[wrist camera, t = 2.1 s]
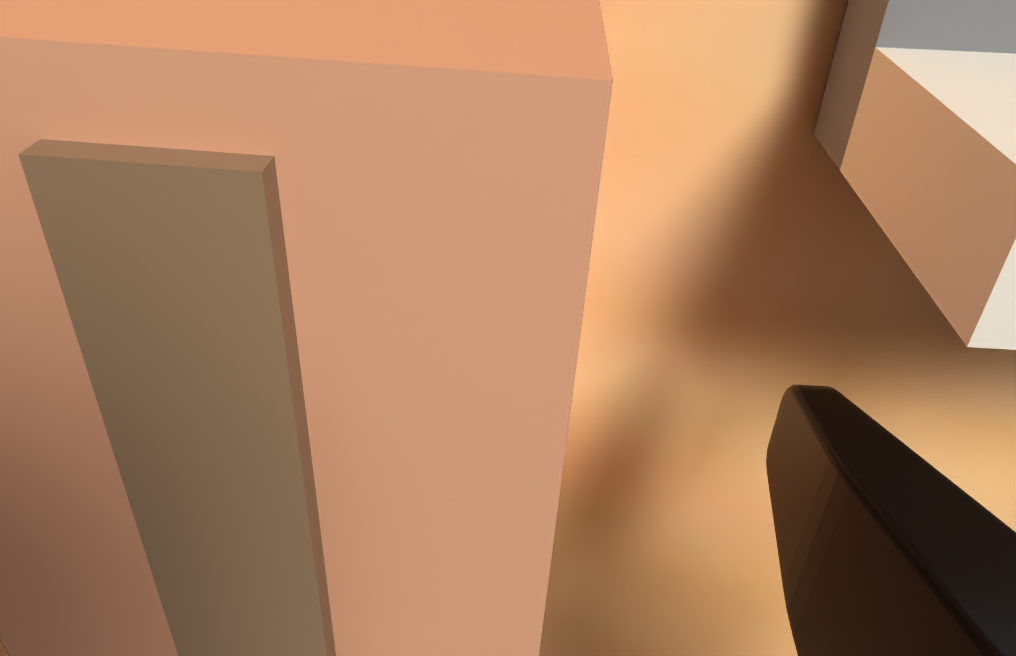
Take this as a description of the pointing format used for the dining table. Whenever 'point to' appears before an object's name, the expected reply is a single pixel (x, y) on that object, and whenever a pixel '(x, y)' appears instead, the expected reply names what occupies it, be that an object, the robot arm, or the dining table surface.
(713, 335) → the dining table surface
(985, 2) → the tray
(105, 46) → the terracotta block
